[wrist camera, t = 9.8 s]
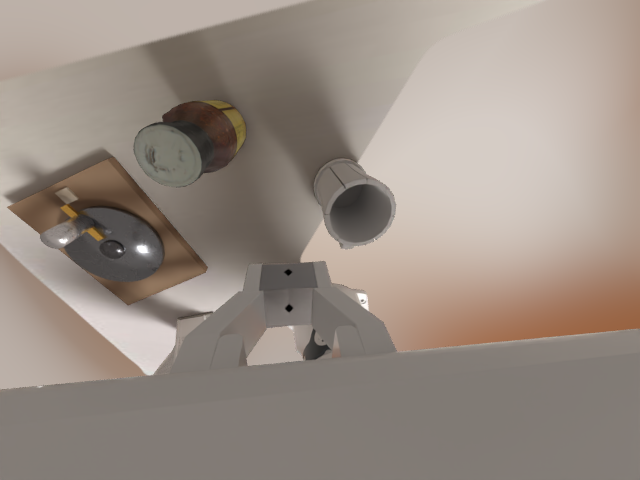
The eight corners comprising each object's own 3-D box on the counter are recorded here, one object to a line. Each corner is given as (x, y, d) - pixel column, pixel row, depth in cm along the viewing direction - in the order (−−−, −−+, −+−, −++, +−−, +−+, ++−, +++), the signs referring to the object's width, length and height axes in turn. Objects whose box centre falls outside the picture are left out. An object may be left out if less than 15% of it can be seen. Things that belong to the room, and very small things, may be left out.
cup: (378, 200, 40) (410, 232, 30) (333, 227, 42) (349, 267, 32) (351, 145, 35) (379, 162, 25) (301, 178, 37) (308, 207, 26)
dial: (182, 258, 39) (166, 283, 34) (117, 288, 40) (92, 317, 35) (110, 182, 32) (75, 198, 26) (33, 221, 33) (-15, 244, 27)
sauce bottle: (190, 128, 31) (80, 156, 14) (215, 88, 30) (124, 66, 13) (233, 161, 34) (184, 218, 17) (259, 126, 32) (232, 151, 15)
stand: (207, 267, 42) (205, 273, 41) (132, 299, 44) (127, 306, 42) (113, 156, 32) (105, 159, 30) (17, 203, 33) (4, 208, 31)
